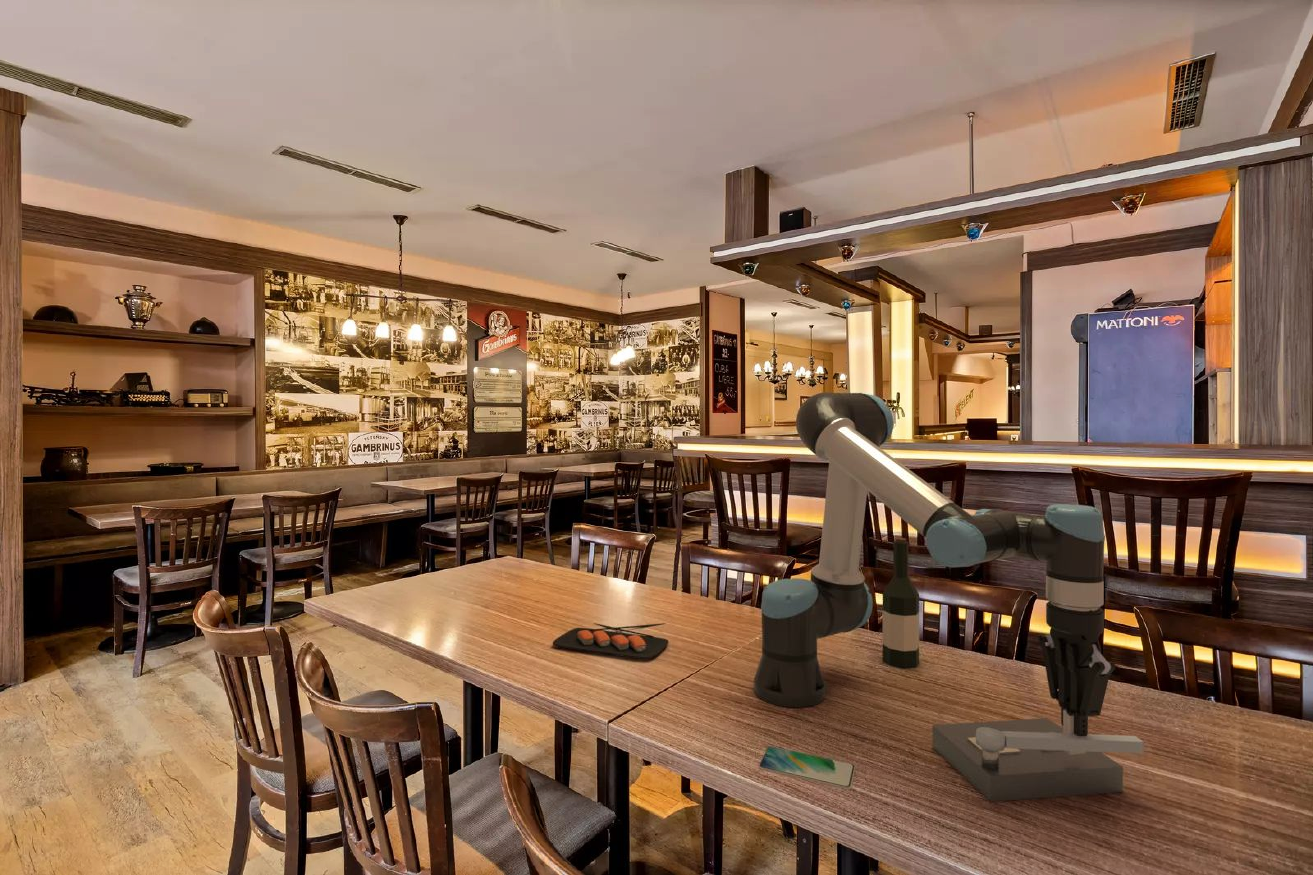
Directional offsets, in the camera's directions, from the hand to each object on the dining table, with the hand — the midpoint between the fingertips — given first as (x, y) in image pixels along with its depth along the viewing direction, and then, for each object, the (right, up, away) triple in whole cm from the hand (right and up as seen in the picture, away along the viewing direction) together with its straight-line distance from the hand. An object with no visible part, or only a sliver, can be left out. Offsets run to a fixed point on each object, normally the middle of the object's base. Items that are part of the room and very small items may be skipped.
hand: (1074, 751), depth 97 cm
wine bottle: (-7, -5, +51) cm, 52 cm away
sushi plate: (-75, -6, +71) cm, 103 cm away
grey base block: (-5, -6, +5) cm, 9 cm away
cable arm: (-4, +1, -2) cm, 4 cm away
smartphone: (-41, -6, +6) cm, 42 cm away
